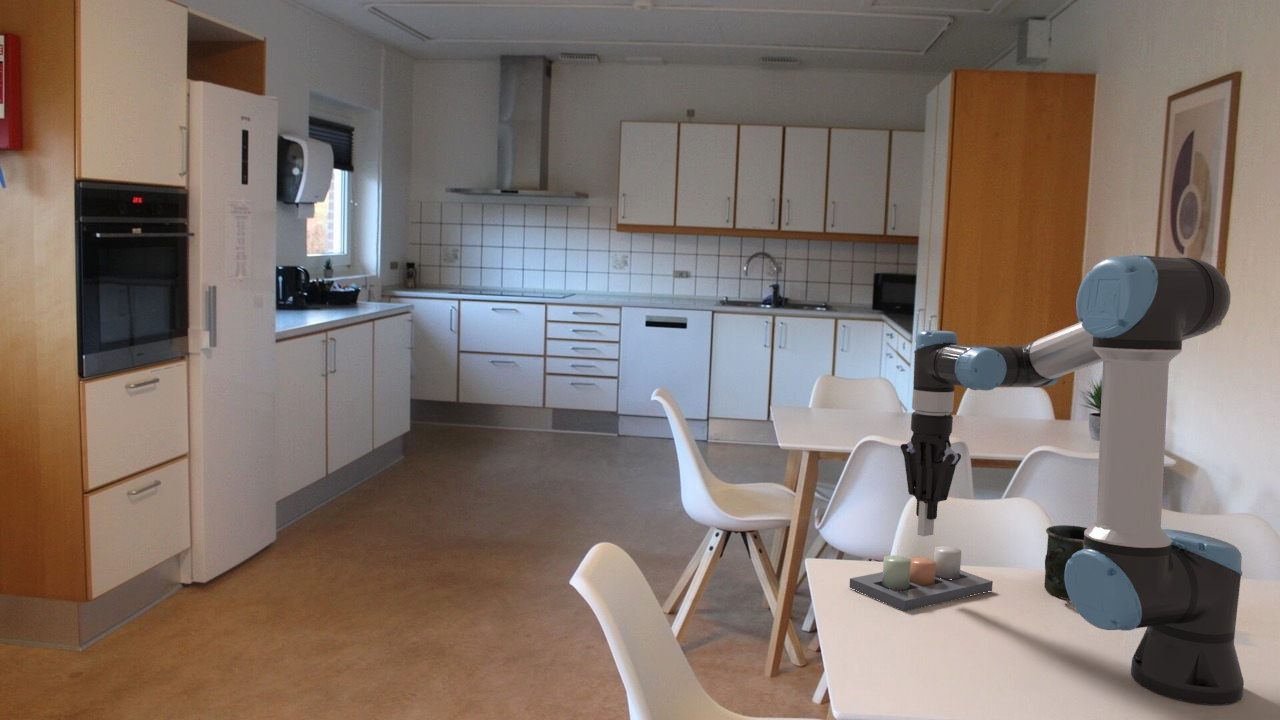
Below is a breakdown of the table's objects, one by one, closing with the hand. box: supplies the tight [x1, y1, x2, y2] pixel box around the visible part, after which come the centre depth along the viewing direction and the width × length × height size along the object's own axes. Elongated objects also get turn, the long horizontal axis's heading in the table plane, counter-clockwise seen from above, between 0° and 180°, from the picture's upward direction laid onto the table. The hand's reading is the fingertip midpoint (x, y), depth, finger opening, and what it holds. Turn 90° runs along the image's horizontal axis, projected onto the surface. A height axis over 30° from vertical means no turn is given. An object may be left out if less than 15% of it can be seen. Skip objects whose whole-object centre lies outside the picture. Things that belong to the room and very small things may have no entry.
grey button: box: [933, 545, 962, 580], centre depth 199 cm, size 5×5×5 cm
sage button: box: [882, 555, 911, 591], centre depth 192 cm, size 5×5×5 cm
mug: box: [1043, 524, 1088, 600], centre depth 196 cm, size 11×15×12 cm
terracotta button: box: [909, 557, 936, 587], centre depth 196 cm, size 5×5×5 cm
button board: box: [849, 569, 994, 612], centre depth 196 cm, size 14×24×2 cm, turn 122°
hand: (925, 534), depth 195 cm, fingers closed
